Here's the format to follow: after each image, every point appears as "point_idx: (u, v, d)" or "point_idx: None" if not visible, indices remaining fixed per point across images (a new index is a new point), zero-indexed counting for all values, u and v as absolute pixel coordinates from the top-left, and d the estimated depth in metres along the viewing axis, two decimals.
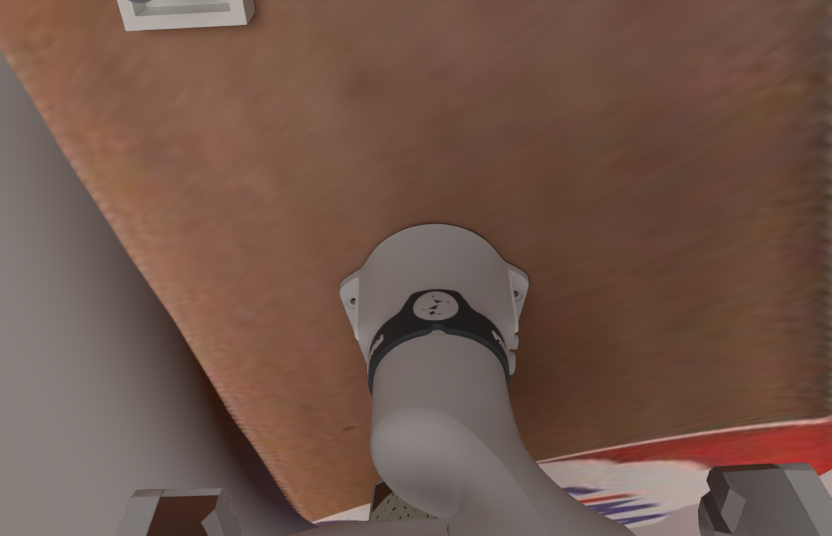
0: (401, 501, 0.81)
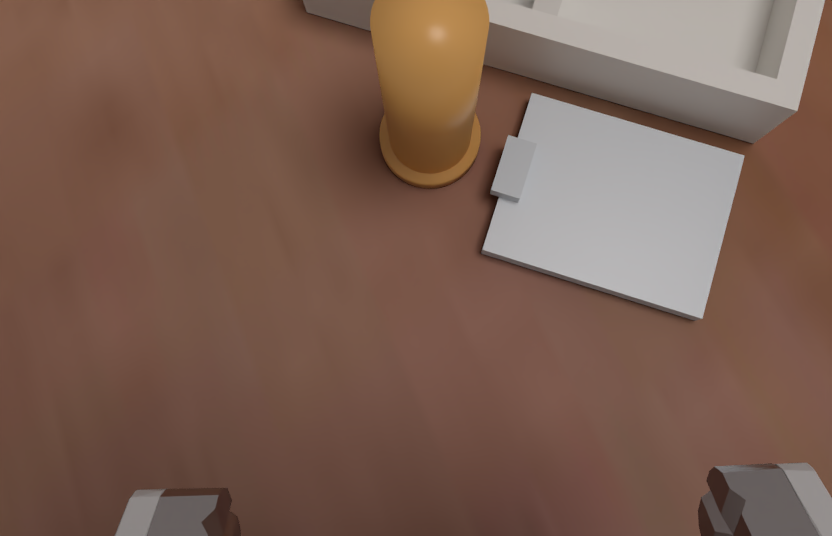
0: None
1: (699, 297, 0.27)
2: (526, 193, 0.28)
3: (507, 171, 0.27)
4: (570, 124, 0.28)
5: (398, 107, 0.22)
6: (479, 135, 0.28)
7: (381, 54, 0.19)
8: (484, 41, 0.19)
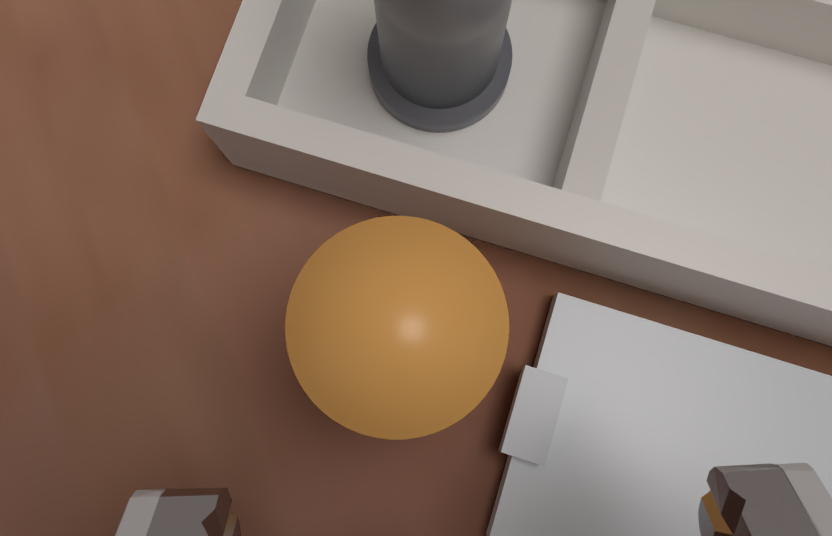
0: None
1: None
2: (553, 449, 0.19)
3: (525, 422, 0.18)
4: (615, 340, 0.19)
5: None
6: None
7: (306, 392, 0.10)
8: (500, 366, 0.10)
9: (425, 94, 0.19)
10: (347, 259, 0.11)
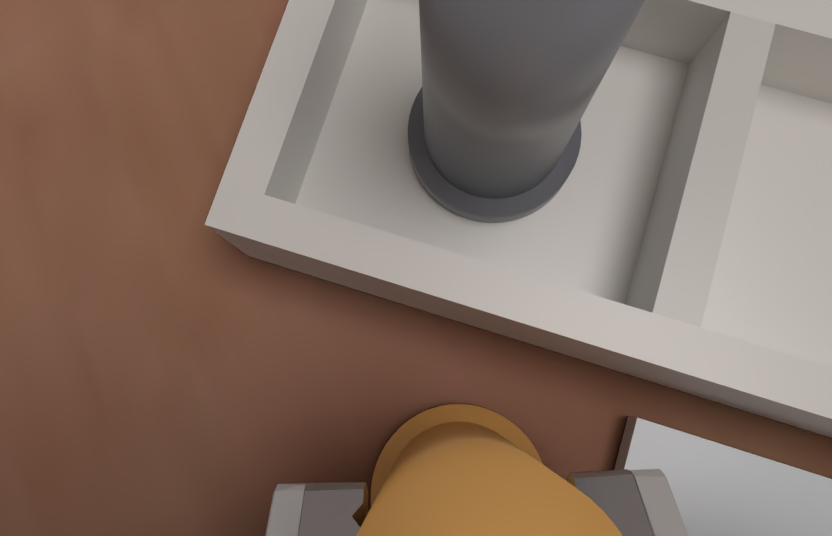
0: None
1: None
2: None
3: None
4: (707, 477, 0.16)
5: None
6: None
7: None
8: None
9: (480, 186, 0.15)
10: (418, 525, 0.07)
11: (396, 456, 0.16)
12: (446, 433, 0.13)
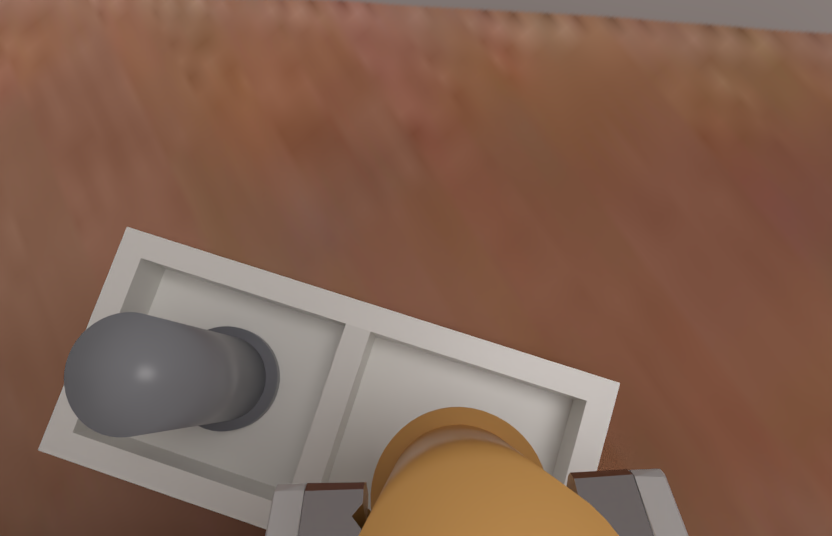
0: None
1: None
2: None
3: None
4: None
5: None
6: None
7: None
8: None
9: None
10: (418, 531, 0.07)
11: (396, 459, 0.16)
12: (446, 437, 0.13)
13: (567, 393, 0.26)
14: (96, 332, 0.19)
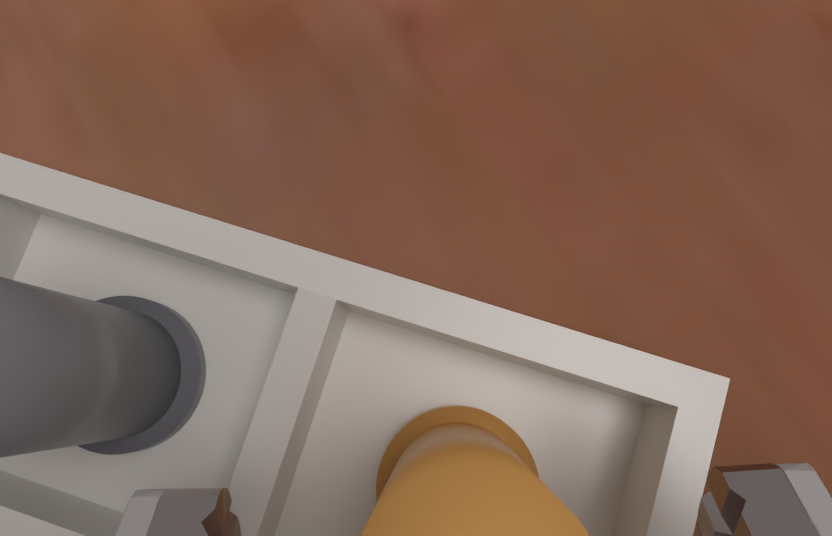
0: None
1: None
2: None
3: None
4: None
5: None
6: None
7: None
8: None
9: None
10: (414, 524, 0.09)
11: (399, 454, 0.18)
12: (443, 436, 0.14)
13: (647, 395, 0.16)
14: None
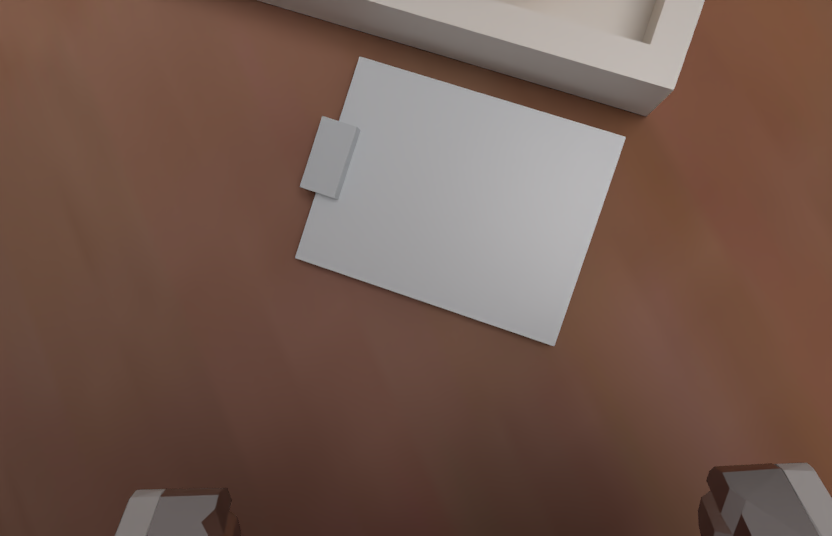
0: None
1: (553, 319, 0.22)
2: (348, 188, 0.23)
3: (320, 163, 0.22)
4: (405, 97, 0.22)
5: None
6: None
7: None
8: None
9: None
10: None
11: None
12: None
13: None
14: None
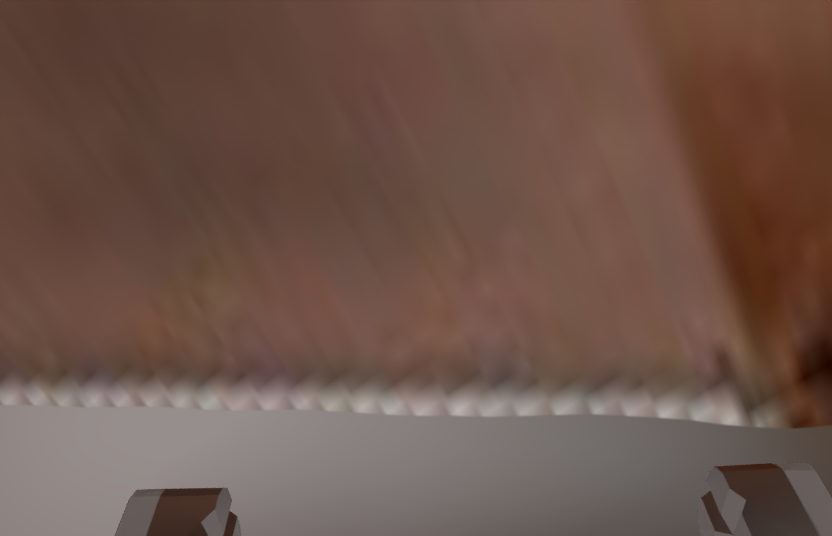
0: None
1: None
2: None
3: None
4: None
5: None
6: None
7: None
8: None
9: None
10: None
11: None
12: None
13: None
14: None
